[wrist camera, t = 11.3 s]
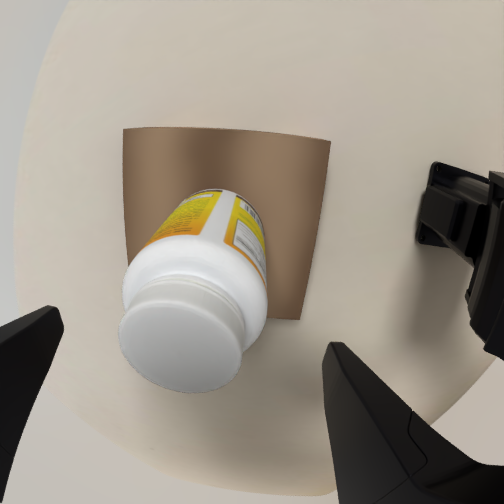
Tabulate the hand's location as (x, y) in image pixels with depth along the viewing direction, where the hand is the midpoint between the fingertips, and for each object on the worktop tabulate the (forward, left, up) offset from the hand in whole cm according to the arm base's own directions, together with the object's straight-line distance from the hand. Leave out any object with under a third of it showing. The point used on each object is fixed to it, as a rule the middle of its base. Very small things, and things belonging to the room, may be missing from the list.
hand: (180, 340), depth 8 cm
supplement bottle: (0, 0, -10) cm, 10 cm away
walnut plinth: (0, 0, -13) cm, 13 cm away
